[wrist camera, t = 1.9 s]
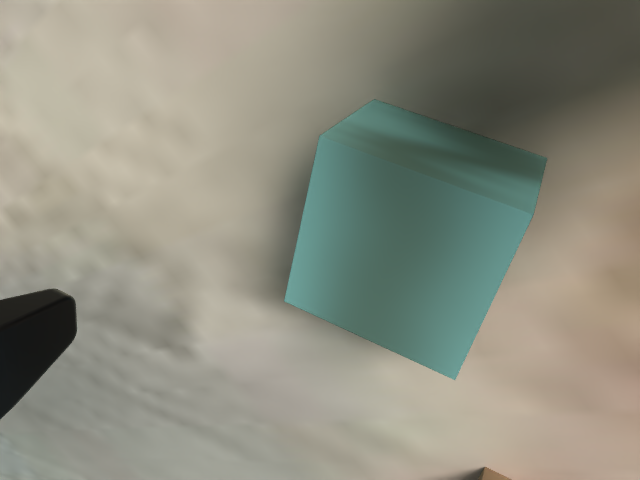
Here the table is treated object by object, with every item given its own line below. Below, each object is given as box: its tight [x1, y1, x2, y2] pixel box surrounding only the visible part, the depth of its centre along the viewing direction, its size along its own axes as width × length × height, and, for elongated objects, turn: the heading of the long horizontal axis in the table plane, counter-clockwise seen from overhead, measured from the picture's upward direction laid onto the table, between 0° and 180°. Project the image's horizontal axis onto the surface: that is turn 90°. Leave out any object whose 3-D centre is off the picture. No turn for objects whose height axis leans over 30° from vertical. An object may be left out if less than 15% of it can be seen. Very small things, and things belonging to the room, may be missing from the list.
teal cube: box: [284, 99, 547, 380], centre depth 15 cm, size 5×5×4 cm
